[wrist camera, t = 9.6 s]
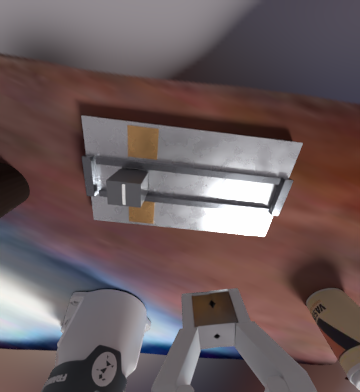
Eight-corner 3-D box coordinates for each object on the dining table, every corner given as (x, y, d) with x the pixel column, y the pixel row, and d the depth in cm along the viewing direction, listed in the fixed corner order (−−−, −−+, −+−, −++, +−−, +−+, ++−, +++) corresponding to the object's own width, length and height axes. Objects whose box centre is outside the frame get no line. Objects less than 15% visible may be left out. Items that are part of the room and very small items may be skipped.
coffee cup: (304, 287, 34) (363, 369, 23) (354, 282, 33) (439, 363, 22) (299, 315, 37) (347, 396, 27) (343, 310, 37) (412, 392, 26)
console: (292, 141, 22) (308, 144, 19) (259, 228, 28) (267, 241, 25) (89, 115, 21) (76, 115, 18) (99, 212, 26) (90, 223, 24)
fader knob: (148, 171, 21) (140, 184, 17) (147, 191, 22) (140, 208, 18) (120, 168, 21) (105, 180, 17) (120, 188, 22) (107, 204, 18)
